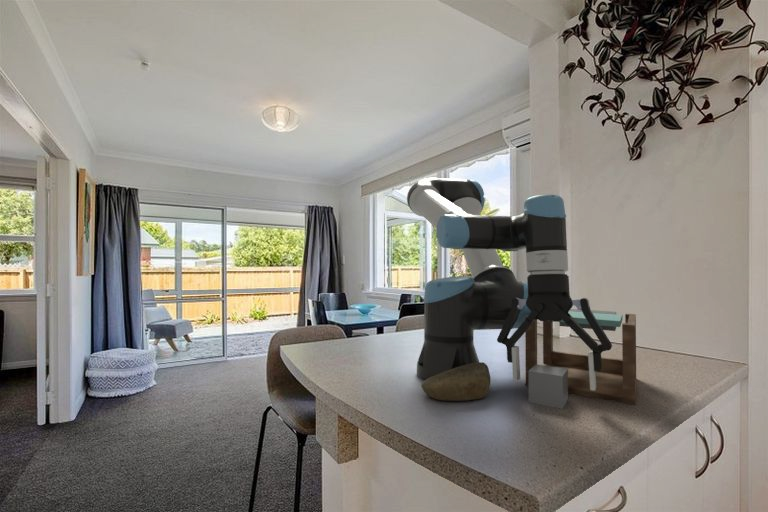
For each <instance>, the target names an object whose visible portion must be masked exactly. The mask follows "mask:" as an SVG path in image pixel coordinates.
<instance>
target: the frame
mask: <svg viewBox="0 0 768 512" xmlns="http://www.w3.org/2000/svg"><path fill="white" fill-rule="evenodd" d="M624 316H625V317H624V318H625V319H624V321H625V322H624V323H623V322H622V323H621V327H622V328H621V329H622V331H621V332H622V333H621V334H622V336H621V337H622V339H621V340H622V341H621V342H622V343H621V344H622V346H621V347H622V351H621V352H622V359H621V358H620V359H619V358H614V357H613V358H611V357H605V356H604V357H603V356H601V360H602V368H601V371H595V374H596V389H595V391H594V390H590V378H589V361H588V354H580V353H573V352H566V351H556V350H554V322H553V321H542V363H541V365H544V366H551V367H558V368H565V369H568V394H573V395H578V396H583V397H584V396H585V397H591V398H596V399H600V400H601V399H602V400H604V401H605V400H606V401H610V402H611V401H612V402H616V403H617V402H618V403H623V404H628V405H634V406H636V403H637V402H636V400H637V399H636V397H637V396H636V395H637V394H636V393H637V332H636V331H637V319H636V317H637V315H636V313H625V315H624ZM527 317H528V316H525V319H526V318H527ZM524 334H525V385H526V386H528V387H529V370H530V369H531V368H532V367H533V366H534V365H535V364H538V319H536V321H535V322H533V324H532V325H531V326H530V327H529V328H528V329H527V331H526V332H525V333H524Z"/></svg>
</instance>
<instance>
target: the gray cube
mask: <svg viewBox="0 0 768 512" xmlns="http://www.w3.org/2000/svg"><path fill="white" fill-rule="evenodd" d="M568 399H569V393H568V369H565V368H558V367H551V366H544V365H542V364H538V363H537V364H535V365H534V366H533V367H532V368H531V369H530V370H529V386H528V403H533V404H538V405H542V406H547V407H552V408H558V409H562V410H563V409H564V407H565V406H566V403H567V402H568Z"/></svg>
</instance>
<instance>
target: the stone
mask: <svg viewBox="0 0 768 512" xmlns="http://www.w3.org/2000/svg"><path fill="white" fill-rule="evenodd" d="M489 369H490V368H489V366H488V365H487V364H486V363H485V362H481V361H479V362H477V363H471V364H467V365H463V366H460V367H456V368H453V369H450V370H447V371H445V372H442V373H440V374H437V375H435V376H432V377H430V378H428V379H426V380H425V379H424V381H422V384H421V388H422V390H423V392H424V393H425V395H426V396H428V397H430V398H432V399H434V400H437V401H445V402H446V401H447V402H448V401H449V402H464V401H472V400H473V401H474V400H479V399H484V398H485V397H486V396H487V395H488V394H489V392H490V390H491V389H490V388H491V374H490V370H489Z"/></svg>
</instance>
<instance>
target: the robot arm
mask: <svg viewBox="0 0 768 512" xmlns="http://www.w3.org/2000/svg"><path fill="white" fill-rule="evenodd" d="M484 196H485V192H484V189H483V187H482V185H481V184H480V183H479V182H478V181H477V180H473V179H468V178H462V179H461V178H443V177H442V178H441V177H427V178H423V179H420V180H418V181H416V182H415V183H413V185H412V186H411V187H410V188H409V190H408V192H407V195H406V203H407V206H408V207H409V209H410V211H411V212H412V213H414V215H417V216H419V217H423V218H424V219H425V220H427V222H429V224H431V225H432V226H433V227H434V228H435V229H436V231H435V232H436V240H437V243H438V245H439V246H440V247H442V248H444V249H453V250H461V251H462V252H463V255H464V259H465V261H466V264H467V267H468V269H469V270H468V271H469V272H470V275H461V276H460V275H459V276H450V277H449V276H448V277H442V278H436V279H431V280H429V281H428V282H427V283H426V284H425V286H424V296H423V297H424V298H423V304H424V306H423V308H424V309H423V310H424V311H423V312H424V316H423V318H424V321H423V324H424V326H423V327H424V328H423V330H424V331H423V332H424V334H423V335H424V336H423V337H424V338H423V344H422V347H421V351H420V353H419V357H418V359H417V363H416V375H417V376H418V377H419V378H421V379H422V380H424V381H425V380H426V379H428V378H430V377H432V376H435V375H437V374H440V373H442V372H445V371H447V370H450V369H453V368H456V367H460V366H463V365H467V364H471V363H477V362H480V360H479V356H478V353H477V350H476V347H475V344H474V343H475V342H474V331H476V330H477V331H481V330H482V331H483V330H484V331H485V330H500V331H499V334H498V336H497V339H496V341H497V343H499V344H502V345H505V347H506V360H507V363H511V365H512V367H511V368H512V381H513V382H514V381H515V382H518V381H519V380H520V379H521V366H520V365H521V364H520V346H519V345H516V343H517V342H518V341H519V340H520V338H522V336H523V335H524V334H525V332H526V331H527V329H528V328H529V327H530V326H531V325H532V324H533V322H535V321H536V319H537V321H540V322H543V321H548V320H549V321H553V323H554V322H556V323H557V322H558V321H561V320H563V321H564V322H565V323H566V324H567V325H568V326H569V327H568V328H570V329H571V330H572V331H573V332H574V333H575V334H576V335H577V336H578V338H579V339H581V341H583V343H584V344H585V345H586V346H587V347H588V348H589V349H590V350H591V351H590V350H589V351H588V353H587V355H588V361H589V378H590V390H594V391H595V389H596V374H595V371H601V368H602V360H601V357H602V352H605V351H610V350H611V349H612V348H613V344H612V342H611V341H610V339H609V338H608V336H607V334H606V333H605V330H603V329H602V328H601V326H600V324H599V323H598V321H597V320H596V318H595V316H594V315H593V313H592V312H591V310H592V309H591V307H590V306H591V304H590V300H589V299H588V298H586V297H583V298H580V299H572V298H571V295H570V293H571V292H570V279H569V277H570V276H569V275H568V274H567V273H566V272H568V271H569V258H568V257H569V255H568V248H567V247H568V245H567V243H568V241H567V219H566V218H567V214H566V211H565V209H566V208H565V200H564V199H563V198H562V197H561V196H560V195H557V194H540V195H534V196H531V197H529V198H526V199H525V201H524V203H523V211H522V213H521V214H518V215H513V216H512V215H510V216H509V215H486V214H485V215H481V214H482V212H483V210H484V207H485V201H486V200H485V199H486V198H485V197H484ZM497 250H500V251H503V252H518V251H520V250H525V252H526V254H525V257H526V271H527V272H528V273H530V274H529V275H528V276H527V278H526V279H527V282H525V281H523V280H520V281H518V280H517V278H516V275H515V274H514V272H513V271H512V269H510V268H509V267H507V266H504V263H503V262H502V260H501V258H500V256H499V254H498V251H497ZM573 306H574V307H576V309H578V310H582V312H583V314H584V316H585V318H586V319H587V321H588V323H589V324H590V326H591V328H592V329H591V330H592V331H593V332H594V334H595V336H596V337H597V339H598V341H599V343H597V341H596V340H595V339H594V338H592V336H591V335H590V334H589V333H588V332H587V331H586V329H585V328H582V327H581V326H580V325H579V324H578V323H577V322H576V321H575V320H574V318H573V317H572V316H571V315H570V314H569V313H568V312H569V310H570V309H573ZM525 316H528V317H527V318H526V319H525ZM558 323H559V322H558ZM513 329H514V330H515V329H516V330H515V331H514V332H513V334H511V336H510V337H509V335H510V333H511V330H513ZM508 337H509V338H508Z"/></svg>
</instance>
